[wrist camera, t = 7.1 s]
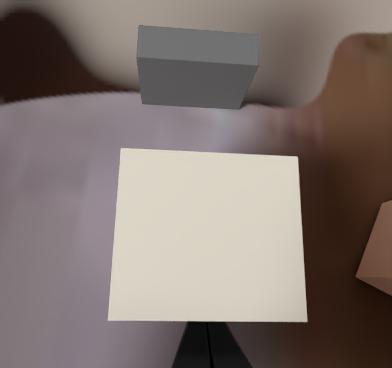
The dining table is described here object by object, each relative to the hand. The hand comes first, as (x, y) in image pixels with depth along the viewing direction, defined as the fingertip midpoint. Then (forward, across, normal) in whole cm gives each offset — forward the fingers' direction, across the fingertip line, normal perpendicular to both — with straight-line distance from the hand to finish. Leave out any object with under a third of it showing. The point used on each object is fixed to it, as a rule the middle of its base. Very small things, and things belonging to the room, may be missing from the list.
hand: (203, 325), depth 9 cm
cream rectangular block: (+6, 0, +3) cm, 7 cm away
